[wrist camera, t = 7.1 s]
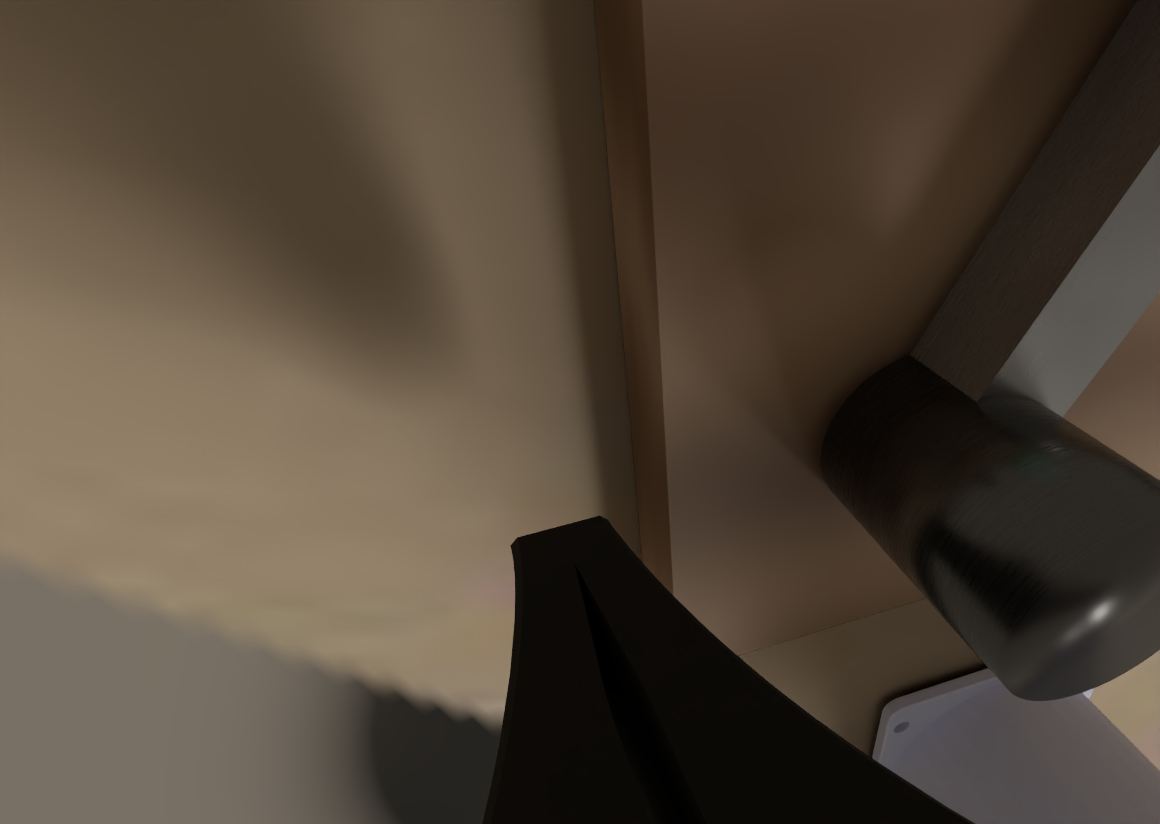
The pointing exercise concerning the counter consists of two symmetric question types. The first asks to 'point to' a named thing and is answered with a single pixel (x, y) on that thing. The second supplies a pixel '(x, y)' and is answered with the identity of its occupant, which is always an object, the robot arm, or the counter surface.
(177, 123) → the counter surface
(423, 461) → the counter surface
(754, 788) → the robot arm
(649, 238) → the board
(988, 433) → the lever
